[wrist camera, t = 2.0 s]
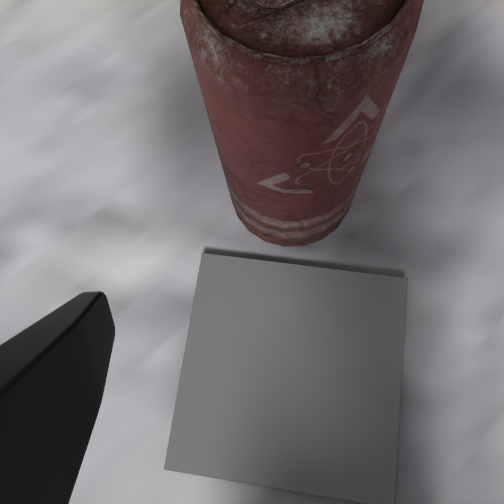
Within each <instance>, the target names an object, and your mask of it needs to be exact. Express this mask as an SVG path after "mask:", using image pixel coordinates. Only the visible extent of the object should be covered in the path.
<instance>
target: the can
mask: <svg viewBox="0 0 504 504" xmlns="http://www.w3.org/2000/svg"><path fill="white" fill-rule="evenodd" d="M423 1H424V0H181V4H180V16H181V20H182V23H183V27H184V31H185V34H186V38H187V41H188V45H189V49H190V52H191V56H192V59H193V63H194V66H195V70H196V74H197V77H198V81H199V84H200V88H201V92H202V95H203V99H204V102H205V106H206V109H207V113H208V117H209V120H210V124H211V127H212V131H213V135H214V138H215V142H216V145H217V149H218V153H219V156H220V160H221V163H222V167H223V170H224V174H225V178H226V181H227V185H228V188H229V192H230V196H231V199H232V202H233V205H234V208H235V210H236V213H237V216H238V218H239V219H240V220H241V221H242V223H243V224H244V225H245V226H246V228H247V229H248V230H249V231H250V232H252V233H253V234H255V235H256V236H258V237H259V238H261V239H262V240H264V241H266V242H270V243H274V244H277V245H281V246H304V245H307V244H310V243H312V242H315V241H318V240H321V239H323V238H324V237H325V236H327V235H328V234H329V233H331V232H332V231H333V230H335V229H336V228H337V227H338V226H339V224H340V223H341V221H342V220H343V218H344V217H345V215H346V214H347V212H348V210H349V207H350V205H351V202H352V199H353V197H354V194H355V191H356V189H357V186H358V183H359V181H360V178H361V176H362V173H363V170H364V168H365V165H366V162H367V160H368V157H369V154H370V152H371V149H372V146H373V144H374V141H375V138H376V136H377V133H378V130H379V128H380V125H381V123H382V120H383V117H384V115H385V112H386V109H387V107H388V104H389V101H390V99H391V96H392V93H393V91H394V88H395V85H396V83H397V80H398V77H399V75H400V72H401V70H402V67H403V64H404V62H405V59H406V56H407V54H408V51H409V48H410V46H411V43H412V40H413V38H414V35H415V32H416V29H417V25H418V21H419V17H420V13H421V9H422V5H423Z"/></svg>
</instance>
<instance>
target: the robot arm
mask: <svg viewBox="0 0 504 504" xmlns="http://www.w3.org/2000/svg"><path fill="white" fill-rule="evenodd" d="M114 337H115V326H114V322H113V318H112V315H111V311H110V307H109V304H108V300H107V297H106V295H105V294H104V293H103V292H101V291H97V292H84V293H81V294H79V295H78V296H76V297H75V298H73V299H71V300H70V301H68V302H67V303H65V304H64V305H62V306H61V307H59V308H57V309H56V310H54V311H53V312H51V313H50V314H48V315H47V316H45V317H44V318H42V319H40V320H39V321H37V322H36V323H34V324H33V325H31V326H30V327H28V328H26V329H25V330H23V331H22V332H20V333H19V334H17V335H16V336H14V337H12V338H11V339H9V340H8V341H6V342H5V343H3V344H2V345H0V504H69V501H70V498H71V494H72V491H73V488H74V485H75V482H76V479H77V476H78V473H79V470H80V467H81V464H82V461H83V458H84V455H85V452H86V449H87V446H88V443H89V440H90V436H91V433H92V430H93V427H94V424H95V421H96V418H97V415H98V412H99V408H100V405H101V401H102V397H103V392H104V387H105V382H106V377H107V372H108V367H109V362H110V357H111V352H112V347H113V342H114Z"/></svg>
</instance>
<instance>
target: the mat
mask: <svg viewBox="0 0 504 504" xmlns="http://www.w3.org/2000/svg"><path fill="white" fill-rule="evenodd" d="M406 295H407V278H403V277H395V276H386V275H378V274H370V273H362V272H354V271H345V270H337V269H329V268H321V267H313V266H304V265H296V264H288V263H280V262H272V261H263V260H255V259H247V258H239V257H231V256H222V255H214V254H206V253H202V257H201V263H200V268H199V274H198V280H197V285H196V291H195V297H194V302H193V308H192V313H191V319H190V325H189V330H188V336H187V342H186V347H185V353H184V359H183V364H182V370H181V376H180V381H179V387H178V393H177V398H176V404H175V410H174V415H173V421H172V427H171V432H170V438H169V444H168V449H167V455H166V461H165V466H164V469H165V470H171V471H177V472H182V473H188V474H194V475H200V476H206V477H212V478H218V479H223V480H229V481H235V482H241V483H247V484H253V485H259V486H265V487H270V488H276V489H282V490H288V491H294V492H300V493H306V494H311V495H317V496H323V497H329V498H335V499H341V500H347V501H353V502H358V503H364V504H395V489H396V471H397V454H398V436H399V418H400V401H401V383H402V365H403V348H404V330H405V312H406Z"/></svg>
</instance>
